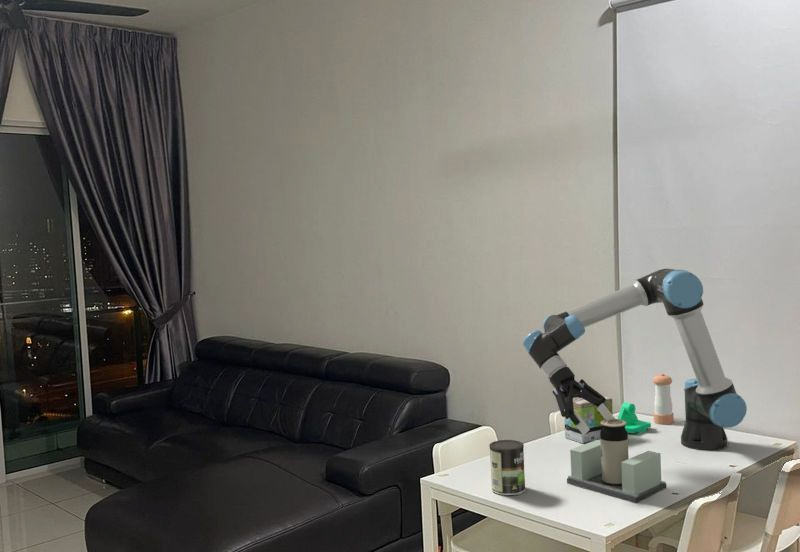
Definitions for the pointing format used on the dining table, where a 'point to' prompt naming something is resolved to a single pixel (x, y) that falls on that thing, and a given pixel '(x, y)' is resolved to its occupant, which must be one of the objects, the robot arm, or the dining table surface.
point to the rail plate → (613, 488)
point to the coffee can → (507, 467)
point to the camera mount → (632, 419)
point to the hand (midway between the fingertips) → (600, 427)
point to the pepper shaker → (663, 400)
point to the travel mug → (613, 449)
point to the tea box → (586, 420)
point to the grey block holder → (635, 470)
